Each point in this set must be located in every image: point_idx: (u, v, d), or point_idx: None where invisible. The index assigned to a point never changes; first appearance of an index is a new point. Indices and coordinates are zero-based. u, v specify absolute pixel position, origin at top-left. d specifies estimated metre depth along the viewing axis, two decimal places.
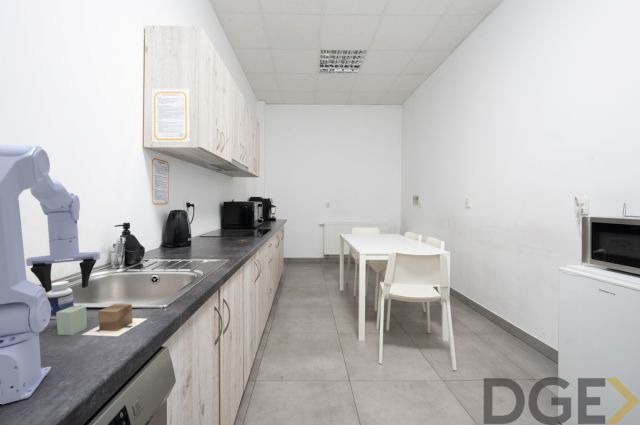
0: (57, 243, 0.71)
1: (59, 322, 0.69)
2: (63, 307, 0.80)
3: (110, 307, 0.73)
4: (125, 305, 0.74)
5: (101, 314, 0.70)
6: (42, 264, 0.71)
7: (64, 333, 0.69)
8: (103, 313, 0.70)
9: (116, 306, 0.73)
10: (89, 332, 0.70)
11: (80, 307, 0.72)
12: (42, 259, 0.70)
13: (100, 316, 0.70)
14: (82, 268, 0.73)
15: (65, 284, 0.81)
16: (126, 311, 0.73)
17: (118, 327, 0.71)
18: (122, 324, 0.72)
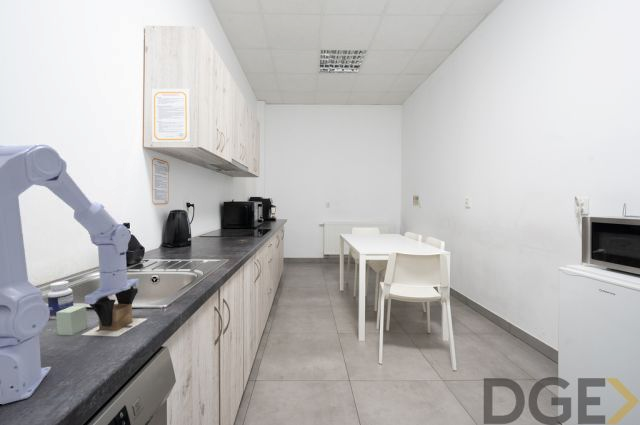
0: None
1: (59, 322, 0.69)
2: (63, 307, 0.80)
3: None
4: (125, 305, 0.74)
5: None
6: None
7: (64, 333, 0.69)
8: None
9: (116, 306, 0.73)
10: (89, 332, 0.70)
11: (80, 307, 0.72)
12: None
13: None
14: None
15: (65, 284, 0.81)
16: (126, 311, 0.73)
17: (118, 327, 0.71)
18: (122, 324, 0.72)
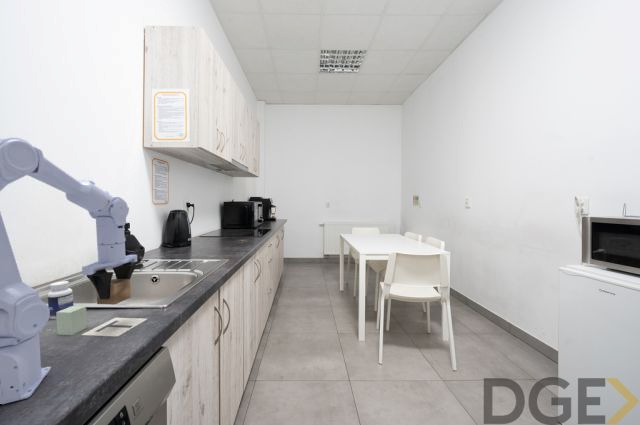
0: None
1: (59, 322, 0.69)
2: (63, 307, 0.80)
3: None
4: (123, 280, 0.73)
5: None
6: None
7: (64, 333, 0.69)
8: None
9: (114, 281, 0.73)
10: (89, 332, 0.70)
11: (80, 307, 0.72)
12: None
13: None
14: None
15: (65, 284, 0.81)
16: (124, 286, 0.73)
17: (116, 301, 0.70)
18: (120, 298, 0.71)
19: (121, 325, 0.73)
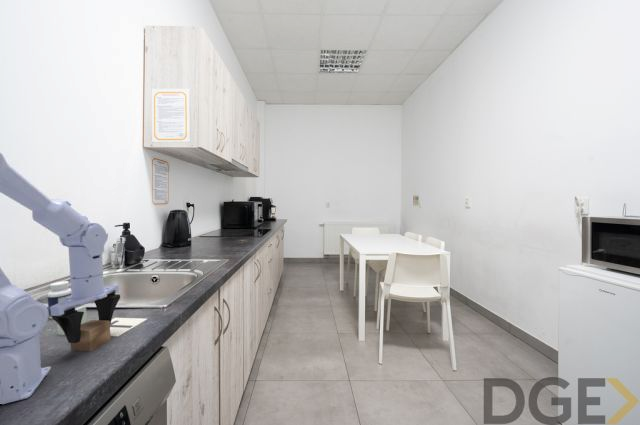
0: None
1: None
2: None
3: (84, 324, 0.64)
4: (102, 322, 0.65)
5: None
6: None
7: (64, 333, 0.69)
8: None
9: (92, 323, 0.64)
10: None
11: (80, 307, 0.72)
12: None
13: None
14: None
15: (65, 284, 0.81)
16: (102, 329, 0.64)
17: (92, 348, 0.61)
18: (97, 344, 0.63)
19: (121, 325, 0.73)
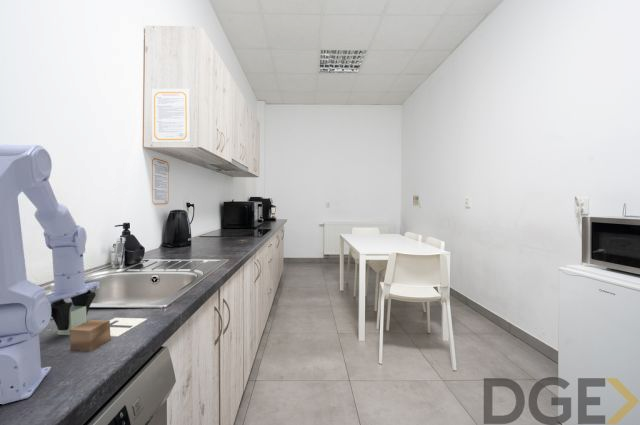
0: None
1: None
2: None
3: (84, 324, 0.64)
4: (102, 322, 0.65)
5: (73, 333, 0.61)
6: None
7: (64, 333, 0.69)
8: (74, 332, 0.61)
9: (92, 323, 0.64)
10: None
11: (80, 307, 0.72)
12: None
13: (72, 335, 0.61)
14: None
15: None
16: (102, 329, 0.64)
17: (92, 348, 0.61)
18: (97, 344, 0.63)
19: (121, 325, 0.73)
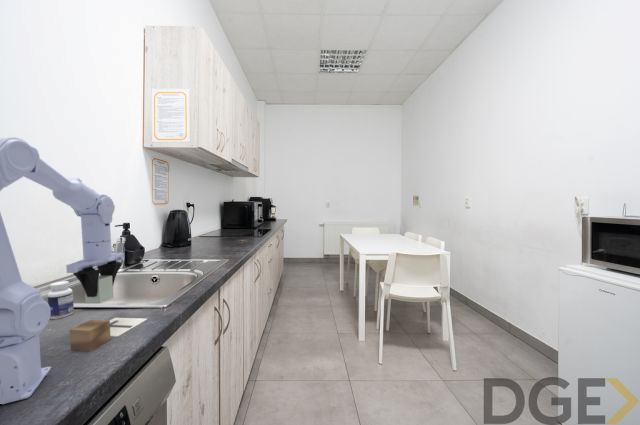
0: None
1: None
2: (63, 307, 0.80)
3: (84, 324, 0.64)
4: (102, 322, 0.65)
5: (73, 333, 0.61)
6: None
7: (92, 300, 0.70)
8: (75, 332, 0.61)
9: (92, 323, 0.64)
10: None
11: (106, 276, 0.73)
12: None
13: (72, 335, 0.61)
14: None
15: (65, 284, 0.81)
16: (102, 329, 0.64)
17: (92, 348, 0.61)
18: (97, 344, 0.63)
19: (121, 325, 0.73)
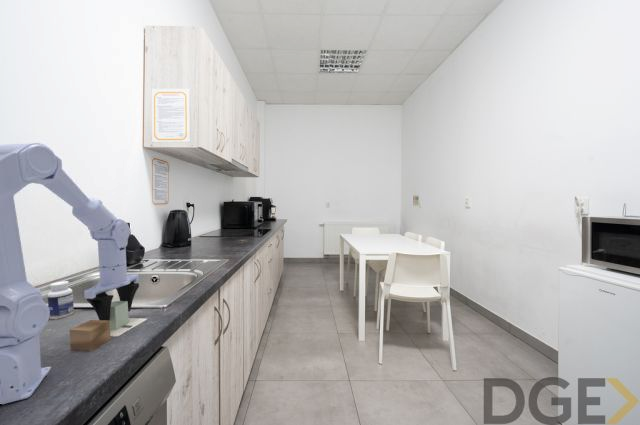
0: None
1: None
2: (63, 307, 0.80)
3: (84, 324, 0.64)
4: (102, 322, 0.65)
5: (73, 333, 0.61)
6: None
7: None
8: (74, 332, 0.61)
9: (92, 323, 0.64)
10: None
11: (122, 302, 0.74)
12: None
13: (72, 335, 0.61)
14: None
15: (65, 284, 0.81)
16: (102, 329, 0.64)
17: (92, 348, 0.61)
18: (97, 344, 0.63)
19: None
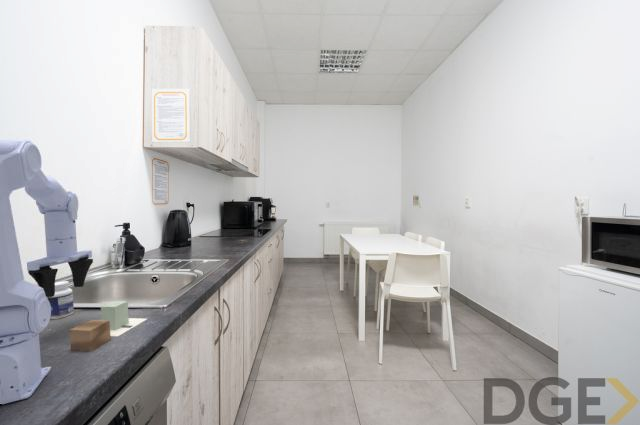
0: None
1: (103, 316, 0.71)
2: (63, 307, 0.80)
3: (84, 324, 0.64)
4: (102, 322, 0.65)
5: (73, 333, 0.61)
6: None
7: None
8: (74, 332, 0.61)
9: (92, 323, 0.64)
10: None
11: (122, 302, 0.74)
12: None
13: (72, 335, 0.61)
14: None
15: (65, 284, 0.81)
16: (102, 329, 0.64)
17: (92, 348, 0.61)
18: (97, 344, 0.63)
19: None
